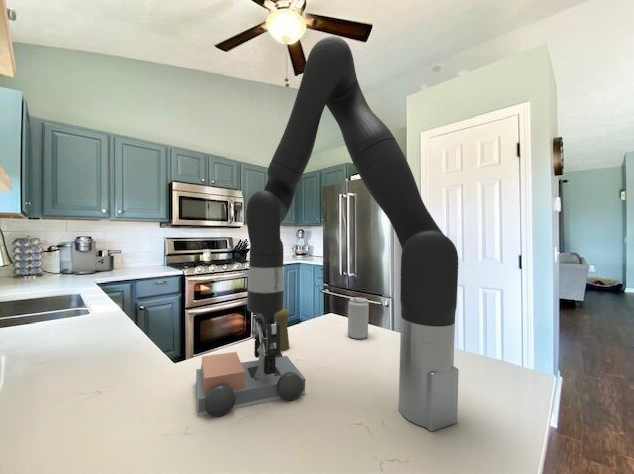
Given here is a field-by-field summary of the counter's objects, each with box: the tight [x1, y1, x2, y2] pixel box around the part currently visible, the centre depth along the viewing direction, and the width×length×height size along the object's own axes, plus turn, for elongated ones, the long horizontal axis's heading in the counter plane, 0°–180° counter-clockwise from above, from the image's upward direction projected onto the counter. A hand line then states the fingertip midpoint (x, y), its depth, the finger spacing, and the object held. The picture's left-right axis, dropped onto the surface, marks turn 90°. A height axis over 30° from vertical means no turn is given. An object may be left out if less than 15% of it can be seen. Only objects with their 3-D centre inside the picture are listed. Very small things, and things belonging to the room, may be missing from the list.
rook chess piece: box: [254, 344, 275, 380], centre depth 62 cm, size 4×4×8 cm
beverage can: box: [347, 296, 370, 340], centre depth 94 cm, size 6×6×12 cm
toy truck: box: [195, 347, 306, 418], centre depth 61 cm, size 15×20×6 cm
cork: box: [270, 307, 290, 353], centre depth 83 cm, size 6×6×11 cm
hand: (264, 364), depth 62 cm, fingers open, 8 cm apart
